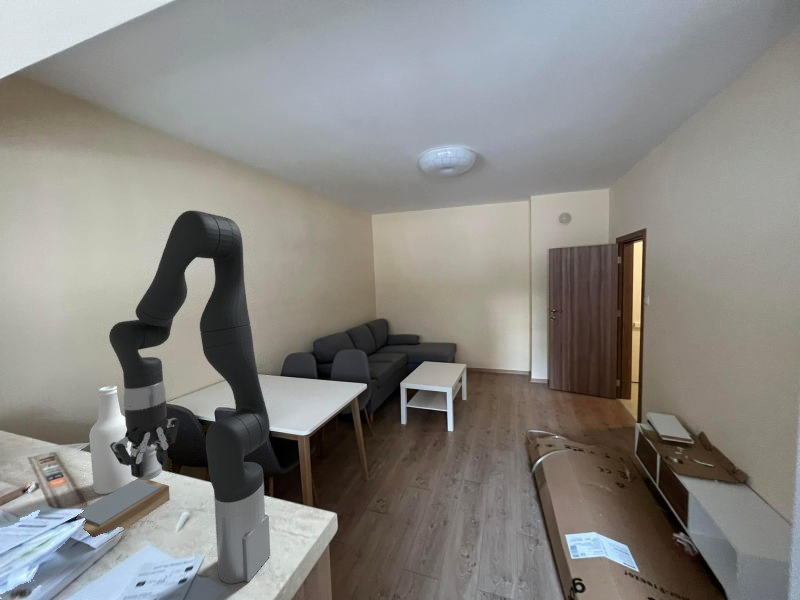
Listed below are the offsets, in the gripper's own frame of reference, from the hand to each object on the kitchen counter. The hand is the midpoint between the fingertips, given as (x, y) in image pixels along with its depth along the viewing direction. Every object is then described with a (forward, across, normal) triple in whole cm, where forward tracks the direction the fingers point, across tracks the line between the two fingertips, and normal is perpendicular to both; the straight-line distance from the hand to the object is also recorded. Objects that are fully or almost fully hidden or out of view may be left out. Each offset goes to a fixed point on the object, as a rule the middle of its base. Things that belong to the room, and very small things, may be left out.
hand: (150, 469), depth 71 cm
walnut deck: (+15, 0, +13) cm, 20 cm away
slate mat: (+11, 0, +13) cm, 17 cm away
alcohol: (+15, +7, +29) cm, 33 cm away
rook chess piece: (+2, 0, 0) cm, 2 cm away
